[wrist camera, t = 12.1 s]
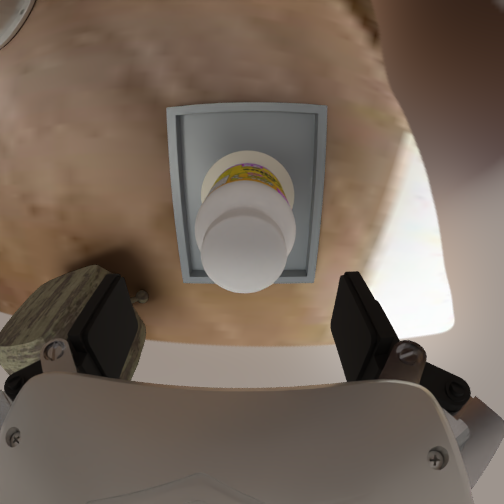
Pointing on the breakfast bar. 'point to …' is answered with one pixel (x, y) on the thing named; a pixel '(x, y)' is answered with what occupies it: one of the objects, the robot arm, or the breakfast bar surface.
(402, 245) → the breakfast bar surface
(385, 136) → the breakfast bar surface
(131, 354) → the tabletop clock
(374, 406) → the robot arm
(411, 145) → the breakfast bar surface
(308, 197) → the tray
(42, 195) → the breakfast bar surface
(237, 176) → the supplement bottle
